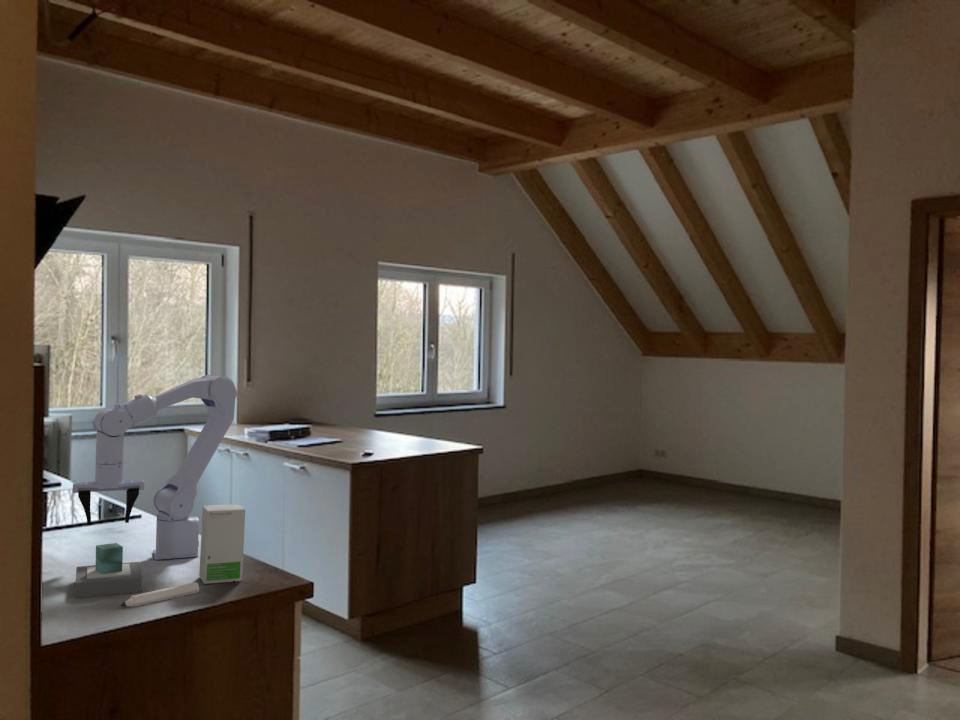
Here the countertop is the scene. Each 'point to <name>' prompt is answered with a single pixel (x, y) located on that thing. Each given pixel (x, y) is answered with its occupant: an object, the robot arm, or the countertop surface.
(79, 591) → the charcoal plinth
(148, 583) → the countertop surface
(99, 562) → the teal block
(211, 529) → the skincare box
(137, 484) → the robot arm
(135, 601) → the marker
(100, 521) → the countertop surface
